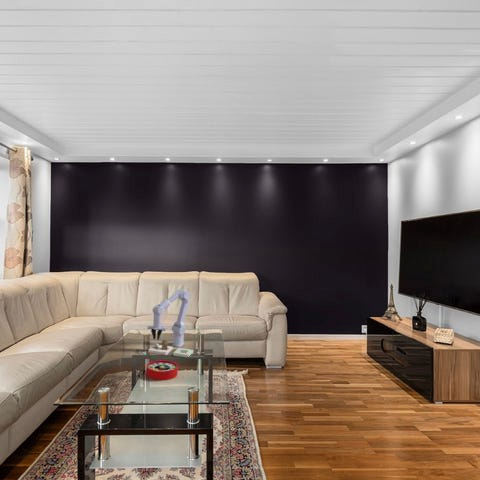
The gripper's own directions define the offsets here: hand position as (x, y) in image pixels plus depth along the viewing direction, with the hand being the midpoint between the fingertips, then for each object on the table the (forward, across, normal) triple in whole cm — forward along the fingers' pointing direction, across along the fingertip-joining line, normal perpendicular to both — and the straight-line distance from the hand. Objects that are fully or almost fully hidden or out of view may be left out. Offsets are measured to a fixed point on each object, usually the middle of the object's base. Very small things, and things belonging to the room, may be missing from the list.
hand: (156, 339), depth 314 cm
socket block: (+8, +4, 0) cm, 9 cm away
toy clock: (+9, +22, -42) cm, 48 cm away
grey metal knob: (+6, 0, 0) cm, 6 cm away
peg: (+8, +7, 0) cm, 11 cm away
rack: (+8, +22, 0) cm, 24 cm away
